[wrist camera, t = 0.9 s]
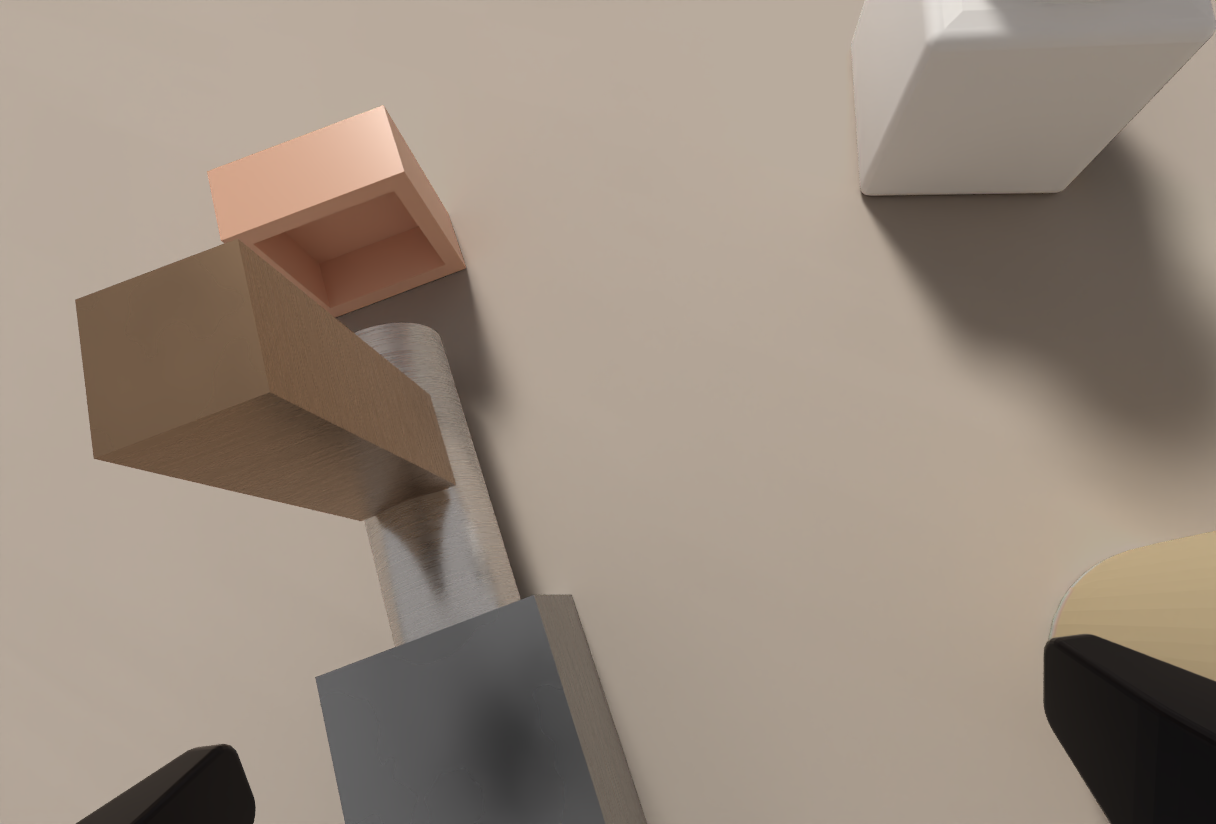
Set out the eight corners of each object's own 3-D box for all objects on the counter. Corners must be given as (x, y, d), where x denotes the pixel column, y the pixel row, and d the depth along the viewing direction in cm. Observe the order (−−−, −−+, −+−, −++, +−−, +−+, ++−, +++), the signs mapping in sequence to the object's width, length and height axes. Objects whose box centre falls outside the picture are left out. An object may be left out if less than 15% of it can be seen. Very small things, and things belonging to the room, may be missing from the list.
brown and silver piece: (644, 957, 17) (582, 1666, 6) (517, 1005, 17) (208, 1810, 6) (456, 353, 22) (233, 108, 11) (359, 389, 22) (38, 181, 11)
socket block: (466, 268, 25) (404, 171, 19) (325, 321, 25) (221, 240, 19) (448, 213, 25) (383, 104, 20) (311, 265, 25) (207, 171, 20)
